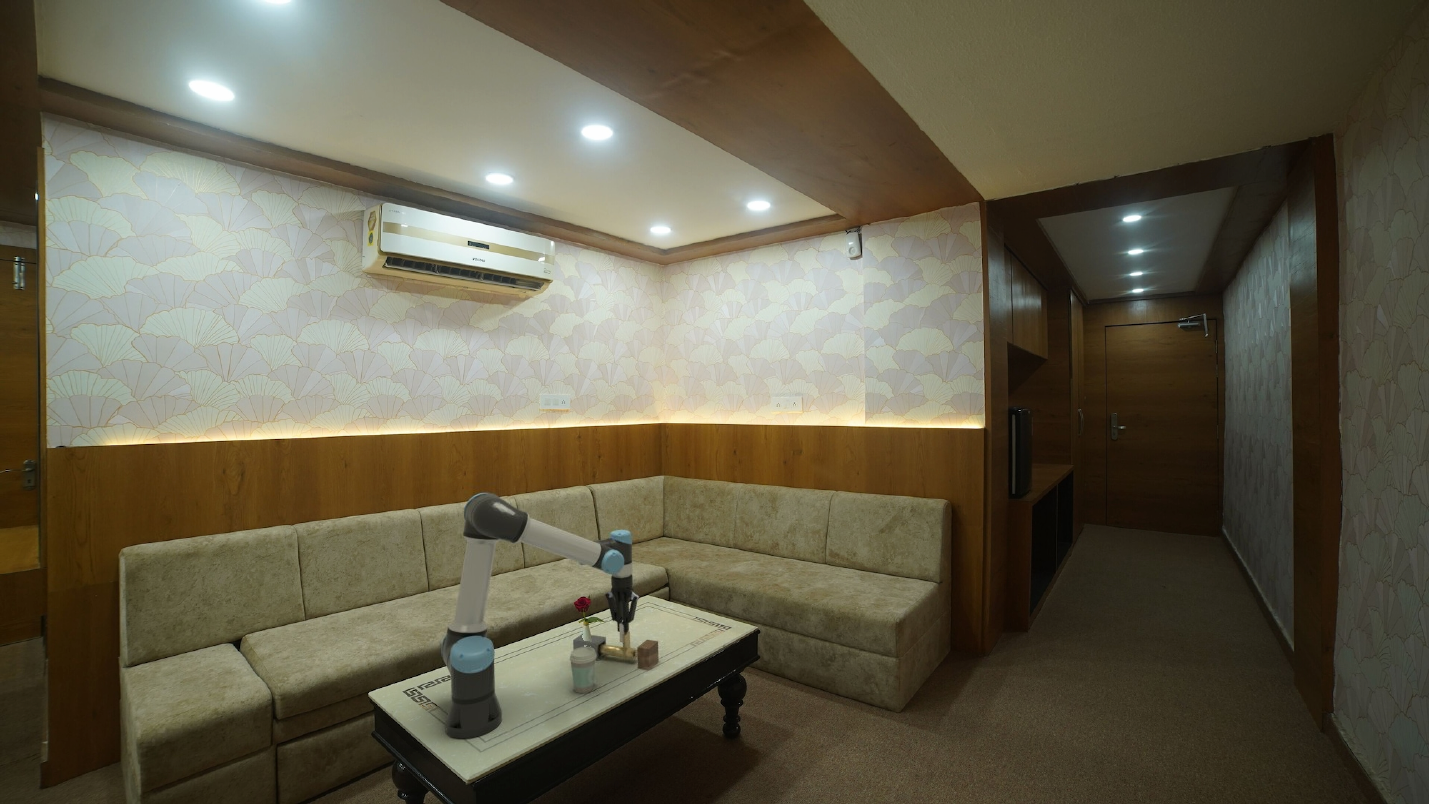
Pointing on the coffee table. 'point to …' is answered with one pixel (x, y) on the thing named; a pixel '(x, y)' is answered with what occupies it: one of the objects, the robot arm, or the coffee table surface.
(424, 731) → the coffee table surface
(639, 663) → the brown wooden block
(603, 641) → the sleeve
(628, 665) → the coffee table surface
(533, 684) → the coffee table surface
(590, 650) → the coffee cup
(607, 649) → the tube
